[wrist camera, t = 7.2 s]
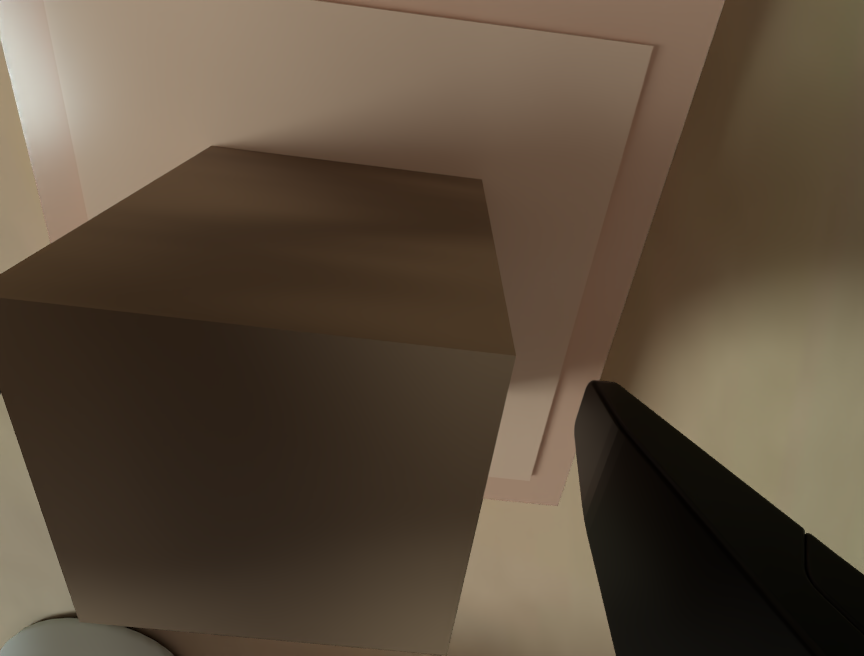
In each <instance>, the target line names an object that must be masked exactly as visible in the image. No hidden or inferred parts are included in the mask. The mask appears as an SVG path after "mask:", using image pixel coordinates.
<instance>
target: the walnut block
mask: <svg viewBox="0 0 864 656" xmlns="http://www.w3.org/2000/svg"><path fill="white" fill-rule="evenodd" d="M515 358H516V353H515V348H514V343H513V337H512V332H511V327H510V322H509V317H508V312H507V306H506V301H505V296H504V291H503V286H502V281H501V275H500V270H499V265H498V260H497V255H496V250H495V244H494V239H493V234H492V229H491V224H490V218H489V213H488V208H487V203H486V198H485V193H484V187H483V182H482V179H475V178H467V177H459V176H451V175H443V174H434V173H426V172H418V171H410V170H402V169H394V168H386V167H378V166H370V165H362V164H354V163H346V162H338V161H330V160H322V159H314V158H306V157H298V156H290V155H282V154H274V153H266V152H258V151H250V150H242V149H234V148H226V147H218V146H210V147H208V148H207V149H205V150H203V151H202V152H200V153H198V154H197V155H195V156H194V157H192V158H190V159H189V160H187V161H185V162H184V163H182V164H180V165H179V166H177V167H176V168H174V169H172V170H171V171H169V172H167V173H166V174H164V175H162V176H161V177H159V178H157V179H156V180H154V181H153V182H151V183H149V184H148V185H146V186H144V187H143V188H141V189H139V190H138V191H136V192H135V193H133V194H131V195H130V196H128V197H126V198H125V199H123V200H121V201H120V202H118V203H116V204H115V205H113V206H112V207H110V208H108V209H107V210H105V211H103V212H102V213H100V214H98V215H97V216H95V217H94V218H92V219H90V220H89V221H87V222H85V223H84V224H82V225H80V226H79V227H77V228H75V229H74V230H72V231H71V232H69V233H67V234H66V235H64V236H62V237H61V238H59V239H57V240H56V241H54V242H53V243H51V244H49V245H48V246H46V247H44V248H43V249H41V250H39V251H38V252H36V253H34V254H33V255H31V256H30V257H28V258H26V259H25V260H23V261H21V262H20V263H18V264H16V265H15V266H13V267H12V268H10V269H8V270H7V271H5V272H3V273H2V274H0V390H1V393H2V396H3V399H4V402H5V405H6V408H7V411H8V414H9V417H10V420H11V422H12V425H13V428H14V431H15V434H16V437H17V440H18V443H19V446H20V449H21V452H22V455H23V458H24V461H25V464H26V467H27V469H28V472H29V475H30V478H31V481H32V484H33V487H34V490H35V493H36V496H37V499H38V502H39V505H40V508H41V511H42V514H43V516H44V519H45V522H46V525H47V528H48V531H49V534H50V537H51V540H52V543H53V546H54V549H55V552H56V555H57V558H58V561H59V563H60V566H61V569H62V572H63V575H64V578H65V581H66V584H67V587H68V590H69V593H70V596H71V599H72V602H73V605H74V608H75V610H76V613H77V616H78V619H79V622H83V623H94V624H105V625H116V626H127V627H138V628H149V629H160V630H171V631H182V632H192V633H203V634H214V635H225V636H236V637H247V638H258V639H269V640H280V641H291V642H302V643H313V644H324V645H335V646H346V647H357V648H368V649H379V650H390V651H401V652H412V653H423V654H434V655H445V656H447V652H448V647H449V643H450V639H451V634H452V630H453V626H454V621H455V617H456V613H457V608H458V604H459V600H460V595H461V591H462V587H463V582H464V578H465V574H466V570H467V565H468V561H469V557H470V552H471V548H472V544H473V539H474V535H475V531H476V526H477V522H478V518H479V513H480V509H481V505H482V501H483V496H484V492H485V488H486V483H487V479H488V475H489V470H490V466H491V462H492V457H493V453H494V449H495V444H496V440H497V436H498V432H499V427H500V423H501V419H502V414H503V410H504V406H505V401H506V397H507V393H508V388H509V384H510V380H511V375H512V371H513V367H514V363H515Z"/></svg>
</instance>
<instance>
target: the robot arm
mask: <svg viewBox="0 0 864 656" xmlns="http://www.w3.org/2000/svg"><path fill="white" fill-rule="evenodd" d="M0 394H1V390H0ZM574 438H575V447H576V456H577V465H578V473H579V482H580V491H581V500H582V508H583V515H584V522H585V526H586V531H587V536H588V540H589V544H590V549H591V553H592V557H593V561H594V565H595V570H596V574H597V578H598V582H599V586H600V591H601V595H602V599H603V603H604V607H605V611H606V616H607V620H608V624H609V628H610V632H611V637H612V641H613V645H614V649H615V653H616V656H864V575H863V574H862V573H861V572H859V571H858V570H857V569H856V568H854V567H853V566H852V565H850V564H849V563H848V562H846V561H845V560H844V559H842V558H841V557H840V556H838V555H837V554H836V553H834V552H833V551H832V550H831V549H829V548H828V547H827V546H826V545H824V544H823V543H822V542H820V541H819V540H818V539H817V538H815V537H814V536H813V535H812V534H810V533H806V534H805V530H804V529H803V528H802V527H801V526H800V525H798V524H797V523H796V522H795V521H793V520H792V519H791V518H790V517H788V516H787V515H786V514H784V513H783V512H782V511H781V510H779V509H778V508H777V507H775V506H774V505H773V504H772V503H770V502H769V501H768V500H766V499H765V498H764V497H763V496H761V495H760V494H759V493H757V492H756V491H755V490H754V489H752V488H751V487H750V486H748V485H747V484H746V483H745V482H743V481H742V480H741V479H739V478H738V477H737V476H736V475H734V474H733V473H732V472H730V471H729V470H728V469H727V468H725V467H724V466H723V465H722V464H720V463H719V462H718V461H716V460H715V459H714V458H713V457H711V456H710V455H709V454H707V453H706V452H705V451H704V450H702V449H701V448H700V447H698V446H697V445H696V444H695V443H693V442H692V441H691V440H689V439H688V438H687V437H686V436H684V435H683V434H682V433H680V432H679V431H678V430H677V429H675V428H674V427H673V426H671V425H670V424H669V423H668V422H666V421H665V420H664V419H662V418H661V417H660V416H659V415H657V414H656V413H655V412H654V411H652V410H651V409H650V408H648V407H647V406H646V405H645V404H643V403H642V402H641V401H639V400H638V399H637V398H636V397H634V396H633V395H632V394H630V393H629V392H628V391H627V390H625V389H624V388H623V387H621V386H620V385H619V384H617V383H615V382H608V381H599V380H592V381H590V382H589V383H588V385H587V386H586V389H585V392H584V395H583V398H582V401H581V404H580V407H579V411H578V414H577V417H576V420H575V425H574Z"/></svg>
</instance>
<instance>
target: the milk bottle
mask: <svg viewBox="0 0 864 656" xmlns="http://www.w3.org/2000/svg"><path fill="white" fill-rule="evenodd" d="M0 656H174V655H173V654H172V653H171V652H170V651H169V650H168V649H166V648H165V647H163V646H162V645H160V644H159V643H158V642H156V641H155V640H153V639H151V638H149V637H147V636H145V635H143V634H141V633H139V632H136V631H134V630H131V629H128V628H126V627H123V626H116V625H105V624H94V623H83V622H79V619H78V618H60V619H50V620H46V621H41V622H37V623H35V624H33V625H30V626H28V627H26V628H24V629H23V630H22V631H20V632H19V633H18V634H16V635H15V636H14V637H12V638H11V639H9V640H8V641H7V642H6V643H5V645H4V646H3V648H2V649H1V650H0Z"/></svg>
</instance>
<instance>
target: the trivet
mask: <svg viewBox="0 0 864 656" xmlns="http://www.w3.org/2000/svg"><path fill="white" fill-rule="evenodd" d="M724 2H725V0H0V38H1V42H2V46H3V50H4V55H5V59H6V63H7V67H8V71H9V75H10V79H11V83H12V87H13V91H14V95H15V100H16V104H17V108H18V112H19V116H20V120H21V124H22V128H23V132H24V136H25V141H26V145H27V149H28V153H29V157H30V161H31V165H32V169H33V173H34V177H35V181H36V186H37V190H38V194H39V198H40V202H41V206H42V210H43V214H44V218H45V222H46V227H47V231H48V235H49V239H50V243H53V242H54V241H56V240H57V239H59V238H61V237H62V236H64V235H66V234H67V233H69V232H71V231H72V230H74V229H75V228H77V227H79V226H80V225H82V224H84V223H85V222H87V221H89V220H90V219H92V218H94V217H95V216H97V215H98V214H100V213H102V212H103V211H105V210H107V209H108V208H110V207H112V206H113V205H115V204H116V203H118V202H120V201H121V200H123V199H125V198H126V197H128V196H130V195H131V194H133V193H135V192H136V191H138V190H139V189H141V188H143V187H144V186H146V185H148V184H149V183H151V182H153V181H154V180H156V179H157V178H159V177H161V176H162V175H164V174H166V173H167V172H169V171H171V170H172V169H174V168H176V167H177V166H179V165H180V164H182V163H184V162H185V161H187V160H189V159H190V158H192V157H194V156H195V155H197V154H198V153H200V152H202V151H203V150H205V149H207V148H208V147H210V146H218V147H226V148H234V149H242V150H250V151H258V152H266V153H274V154H282V155H290V156H298V157H306V158H314V159H322V160H330V161H338V162H346V163H354V164H362V165H370V166H378V167H386V168H394V169H402V170H410V171H418V172H426V173H434V174H443V175H451V176H459V177H467V178H475V179H482V182H483V187H484V193H485V198H486V203H487V208H488V213H489V218H490V224H491V229H492V234H493V239H494V244H495V250H496V255H497V260H498V265H499V270H500V275H501V281H502V286H503V291H504V296H505V301H506V306H507V312H508V317H509V322H510V327H511V332H512V337H513V343H514V348H515V353H516V358H515V363H514V367H513V371H512V375H511V380H510V384H509V388H508V393H507V397H506V401H505V406H504V410H503V414H502V419H501V423H500V427H499V432H498V436H497V440H496V444H495V449H494V453H493V457H492V462H491V466H490V470H489V475H488V479H487V483H486V488H485V492H484V496H483V499H493V500H503V501H513V502H522V503H532V504H542V505H552V506H558V504H559V501H560V498H561V495H562V492H563V489H564V486H565V483H566V480H567V477H568V474H569V471H570V468H571V465H572V462H573V459H574V456H575V453H576V447H575V438H574V425H575V420H576V417H577V414H578V411H579V407H580V404H581V401H582V398H583V395H584V392H585V389H586V386H587V385H588V383H589V382H590V381H592V380H600V377H601V374H602V371H603V368H604V365H605V362H606V359H607V356H608V353H609V350H610V347H611V344H612V341H613V338H614V335H615V332H616V329H617V326H618V323H619V320H620V317H621V314H622V311H623V308H624V305H625V302H626V299H627V296H628V293H629V290H630V287H631V284H632V281H633V278H634V275H635V272H636V269H637V265H638V262H639V259H640V256H641V253H642V250H643V247H644V244H645V241H646V238H647V235H648V232H649V229H650V226H651V223H652V220H653V217H654V214H655V211H656V208H657V205H658V202H659V199H660V196H661V193H662V190H663V187H664V184H665V181H666V178H667V175H668V172H669V169H670V166H671V163H672V160H673V157H674V154H675V151H676V148H677V145H678V141H679V138H680V135H681V132H682V129H683V126H684V123H685V120H686V117H687V114H688V111H689V108H690V105H691V102H692V99H693V96H694V93H695V90H696V87H697V84H698V81H699V78H700V75H701V72H702V69H703V66H704V63H705V60H706V57H707V54H708V51H709V48H710V45H711V42H712V39H713V36H714V33H715V30H716V27H717V24H718V21H719V17H720V14H721V11H722V8H723V5H724Z"/></svg>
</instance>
